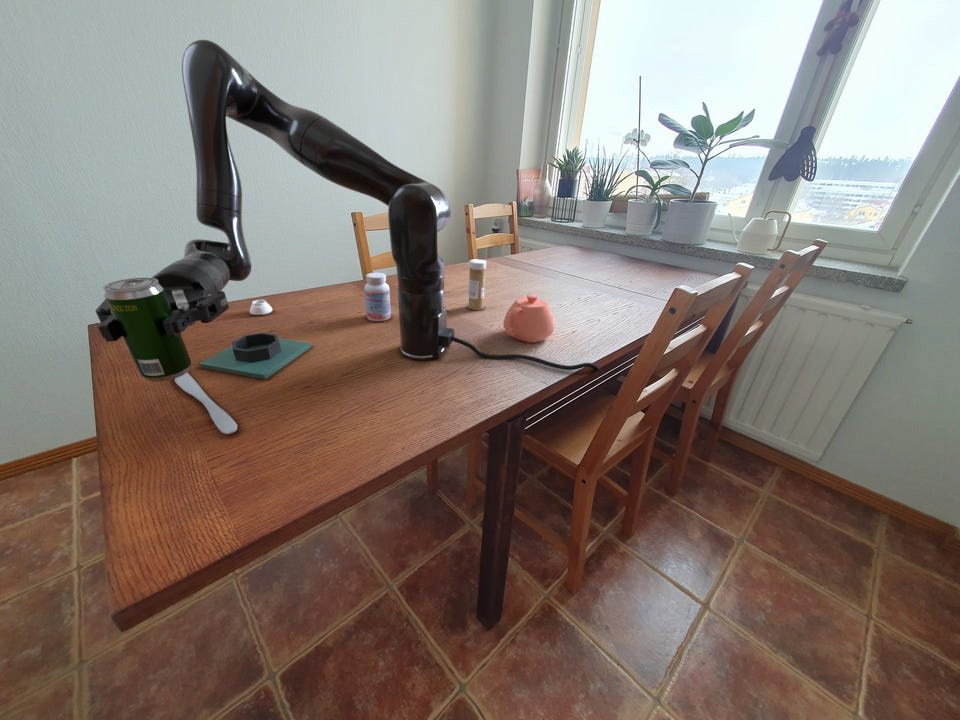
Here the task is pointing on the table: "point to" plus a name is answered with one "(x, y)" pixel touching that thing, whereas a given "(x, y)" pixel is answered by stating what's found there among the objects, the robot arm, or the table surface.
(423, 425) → the table surface
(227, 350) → the dock
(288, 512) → the table surface
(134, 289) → the beer can
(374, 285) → the pill bottle
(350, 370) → the table surface
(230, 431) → the butter knife
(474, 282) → the sprinkles bottle
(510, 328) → the sugar bowl
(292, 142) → the robot arm
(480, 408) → the table surface
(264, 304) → the white truncated cone
